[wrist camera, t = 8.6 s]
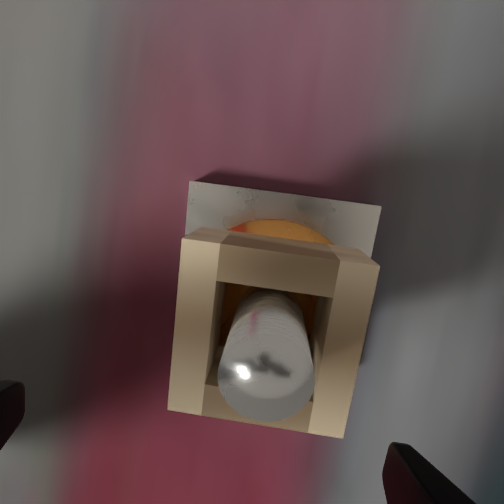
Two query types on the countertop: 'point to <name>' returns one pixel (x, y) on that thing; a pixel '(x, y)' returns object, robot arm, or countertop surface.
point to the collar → (280, 278)
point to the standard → (273, 293)
